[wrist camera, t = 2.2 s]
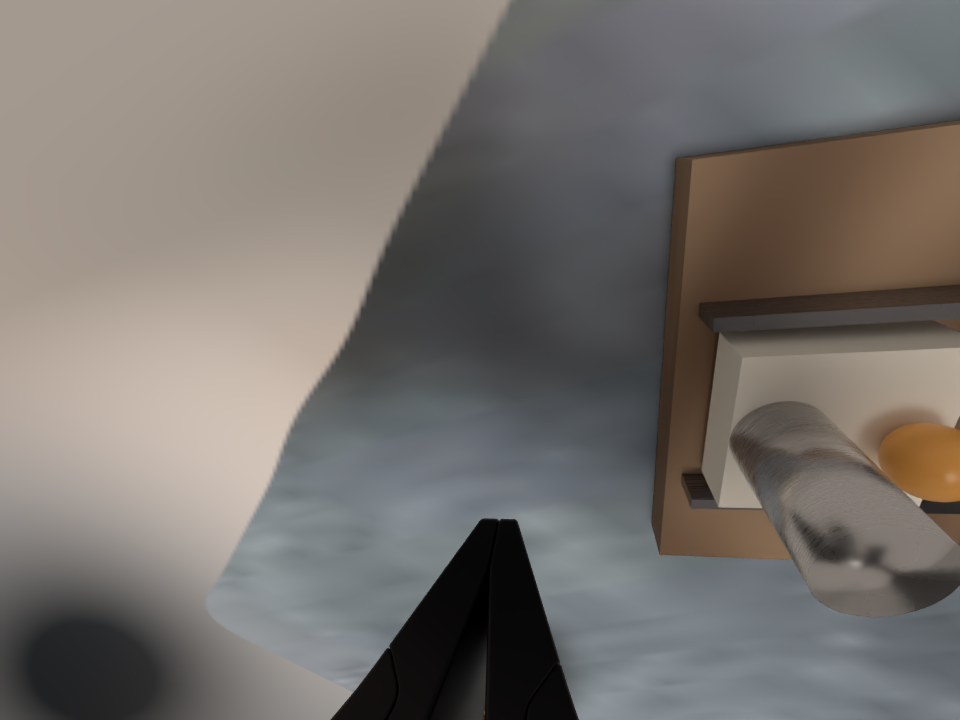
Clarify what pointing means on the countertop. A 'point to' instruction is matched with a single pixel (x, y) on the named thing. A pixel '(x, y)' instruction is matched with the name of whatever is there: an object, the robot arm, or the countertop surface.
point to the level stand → (794, 287)
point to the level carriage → (844, 454)
